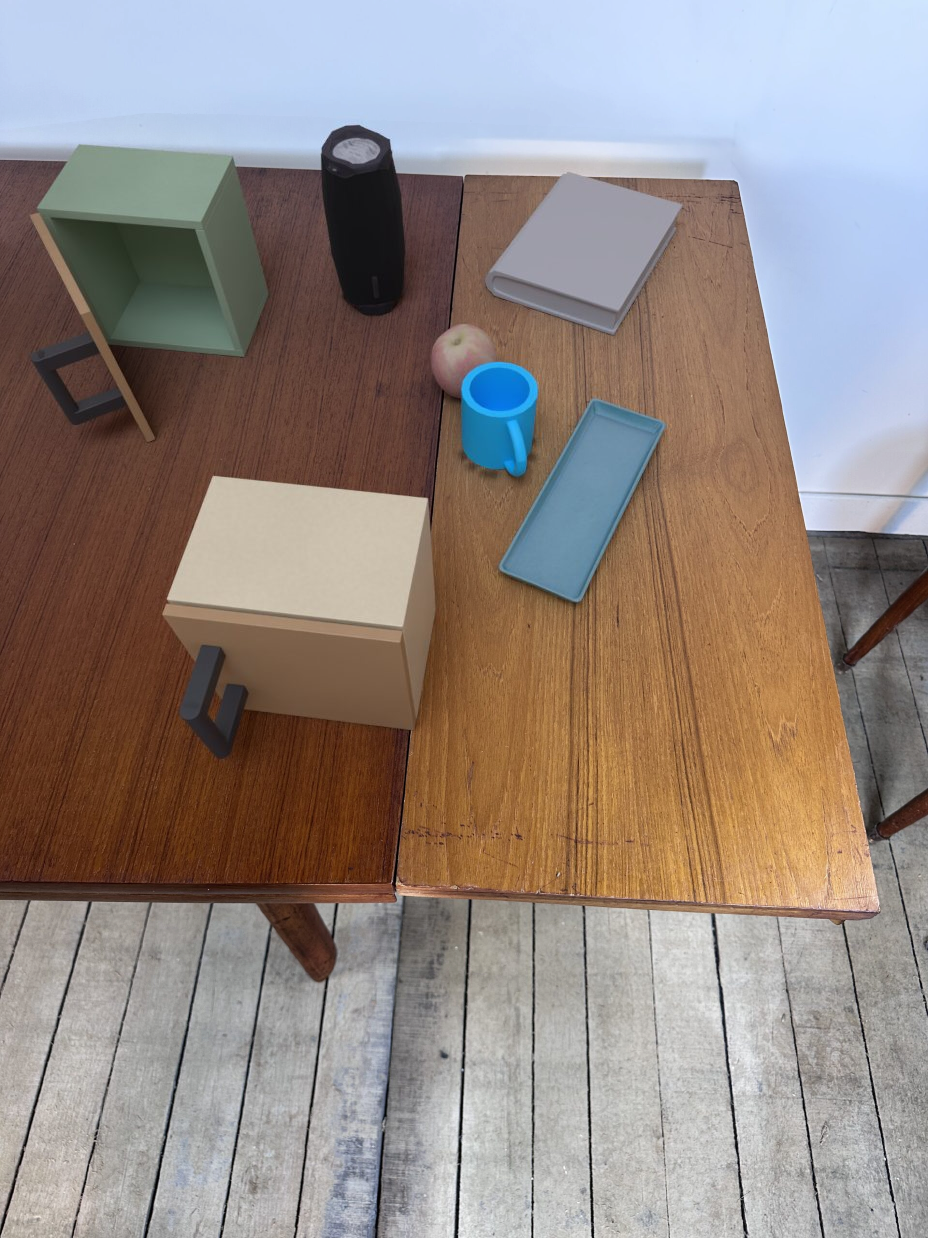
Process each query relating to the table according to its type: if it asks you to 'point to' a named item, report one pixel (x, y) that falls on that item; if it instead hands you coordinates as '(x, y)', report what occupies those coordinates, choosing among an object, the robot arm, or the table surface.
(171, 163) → the green cupboard
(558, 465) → the rectangular tray
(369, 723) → the beige drawer front
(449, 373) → the apple
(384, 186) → the portable speaker
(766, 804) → the table surface
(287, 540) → the cream cupboard
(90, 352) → the tan wooden panel
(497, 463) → the mug
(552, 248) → the book
